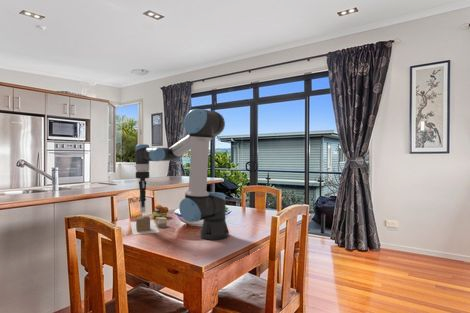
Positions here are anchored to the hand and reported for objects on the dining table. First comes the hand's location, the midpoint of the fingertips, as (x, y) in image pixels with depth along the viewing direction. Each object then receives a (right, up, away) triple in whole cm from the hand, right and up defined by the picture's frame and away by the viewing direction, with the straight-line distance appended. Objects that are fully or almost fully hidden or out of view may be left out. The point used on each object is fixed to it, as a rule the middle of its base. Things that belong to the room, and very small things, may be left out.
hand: (142, 212), depth 172 cm
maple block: (+9, -10, +6) cm, 14 cm away
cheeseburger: (+2, -10, +30) cm, 32 cm away
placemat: (-1, -10, +5) cm, 11 cm away
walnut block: (+1, -2, -2) cm, 3 cm away
